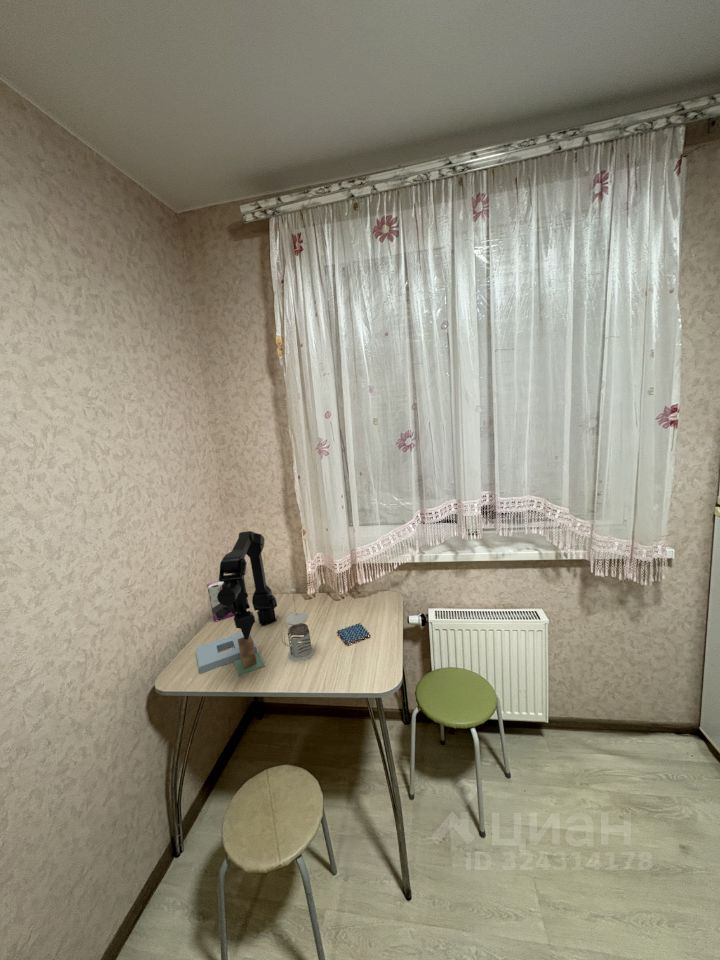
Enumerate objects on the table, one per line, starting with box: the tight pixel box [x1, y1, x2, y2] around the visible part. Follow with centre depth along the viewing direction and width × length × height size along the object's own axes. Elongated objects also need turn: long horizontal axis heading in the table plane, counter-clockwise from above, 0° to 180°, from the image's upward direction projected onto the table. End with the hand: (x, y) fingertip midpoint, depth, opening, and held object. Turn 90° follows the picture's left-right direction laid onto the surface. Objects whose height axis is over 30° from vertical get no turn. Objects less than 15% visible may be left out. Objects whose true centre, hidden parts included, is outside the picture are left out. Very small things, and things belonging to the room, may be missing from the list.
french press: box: [280, 588, 316, 662], centre depth 136 cm, size 10×12×25 cm
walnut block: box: [238, 634, 257, 669], centre depth 134 cm, size 4×4×9 cm
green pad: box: [233, 651, 265, 677], centre depth 135 cm, size 9×9×1 cm
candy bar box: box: [206, 580, 235, 622], centre depth 170 cm, size 11×5×16 cm, turn 117°
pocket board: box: [195, 631, 258, 674], centre depth 143 cm, size 20×14×2 cm
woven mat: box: [336, 622, 371, 647], centre depth 146 cm, size 10×11×2 cm
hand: (244, 632), depth 133 cm, fingers open, 9 cm apart
